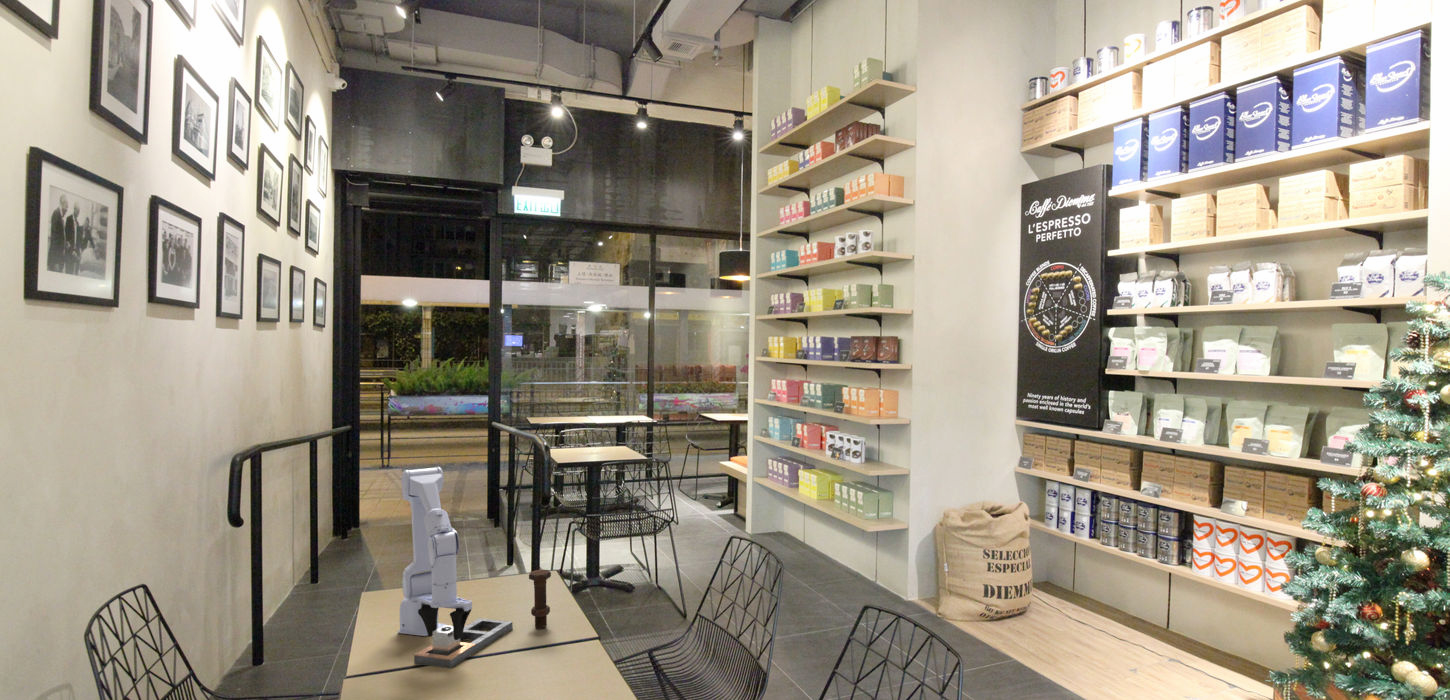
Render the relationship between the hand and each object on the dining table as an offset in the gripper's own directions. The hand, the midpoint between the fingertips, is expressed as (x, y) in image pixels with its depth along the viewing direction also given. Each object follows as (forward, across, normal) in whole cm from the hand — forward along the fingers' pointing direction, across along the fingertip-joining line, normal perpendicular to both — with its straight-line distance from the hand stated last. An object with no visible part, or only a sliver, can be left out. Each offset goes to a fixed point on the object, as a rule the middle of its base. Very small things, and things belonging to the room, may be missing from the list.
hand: (445, 636), depth 180 cm
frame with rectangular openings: (+5, 0, +8) cm, 9 cm away
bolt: (+5, +12, +24) cm, 27 cm away
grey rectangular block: (+5, 0, 0) cm, 5 cm away
